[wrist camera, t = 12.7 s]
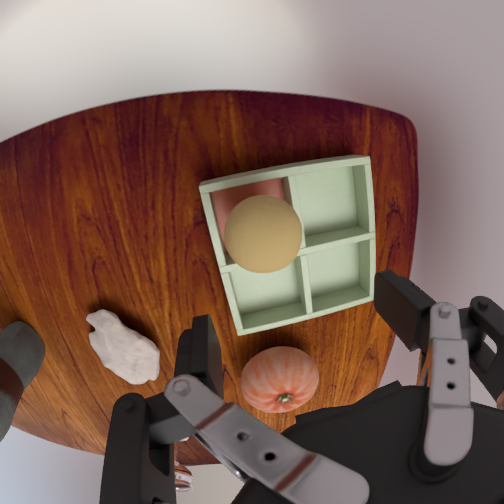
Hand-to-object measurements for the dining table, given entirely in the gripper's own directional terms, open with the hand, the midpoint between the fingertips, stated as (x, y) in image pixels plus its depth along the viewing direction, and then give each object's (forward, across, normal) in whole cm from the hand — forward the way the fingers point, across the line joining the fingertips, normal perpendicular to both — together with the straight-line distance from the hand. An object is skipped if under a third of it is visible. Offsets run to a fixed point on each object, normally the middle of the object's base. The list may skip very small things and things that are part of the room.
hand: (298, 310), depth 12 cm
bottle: (+19, +41, +11) cm, 46 cm away
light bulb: (+18, 0, 0) cm, 18 cm away
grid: (+19, -4, +4) cm, 20 cm away
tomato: (+19, +1, +22) cm, 29 cm away
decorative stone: (+19, +21, +14) cm, 31 cm away
